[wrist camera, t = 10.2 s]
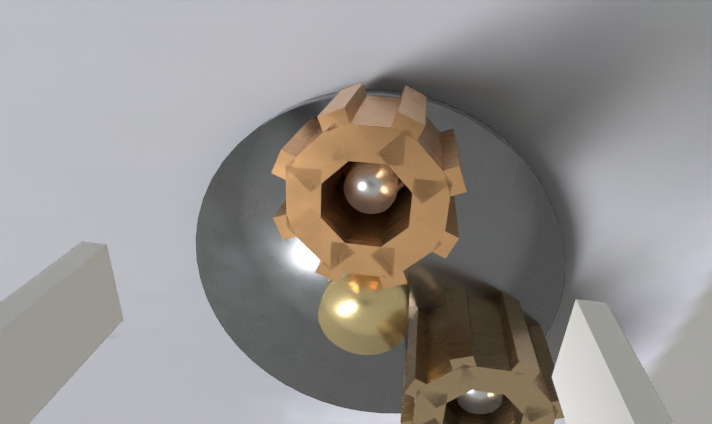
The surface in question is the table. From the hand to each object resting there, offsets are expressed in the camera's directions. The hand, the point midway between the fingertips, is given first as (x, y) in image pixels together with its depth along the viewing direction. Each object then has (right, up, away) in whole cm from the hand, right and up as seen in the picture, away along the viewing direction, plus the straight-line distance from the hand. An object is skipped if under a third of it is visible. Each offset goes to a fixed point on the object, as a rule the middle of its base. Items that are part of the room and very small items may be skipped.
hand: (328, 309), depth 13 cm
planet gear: (+2, +6, +13) cm, 14 cm away
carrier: (+2, -1, +17) cm, 18 cm away
